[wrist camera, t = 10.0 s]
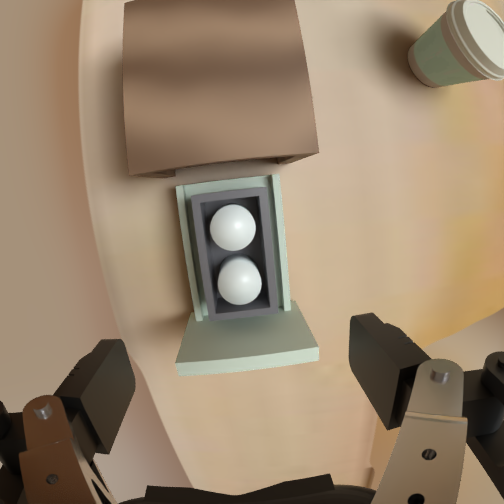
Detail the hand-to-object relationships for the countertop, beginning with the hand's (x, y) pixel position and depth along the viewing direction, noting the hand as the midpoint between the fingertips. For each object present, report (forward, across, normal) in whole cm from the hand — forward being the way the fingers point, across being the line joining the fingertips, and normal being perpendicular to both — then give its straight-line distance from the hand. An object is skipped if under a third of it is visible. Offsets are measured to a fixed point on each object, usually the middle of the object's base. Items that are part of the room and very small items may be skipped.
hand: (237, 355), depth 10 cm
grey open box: (+18, 0, 0) cm, 18 cm away
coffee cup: (+20, -24, -19) cm, 37 cm away
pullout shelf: (+19, 0, +1) cm, 19 cm away
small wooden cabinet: (+20, 0, -14) cm, 24 cm away
